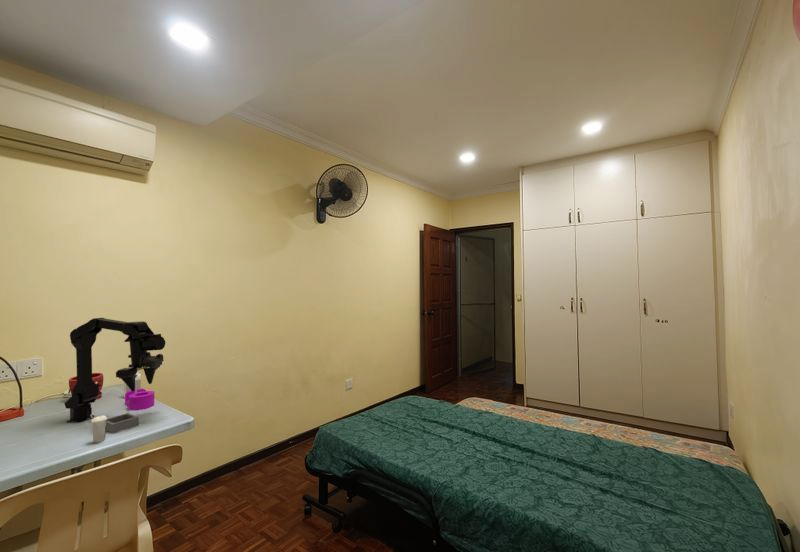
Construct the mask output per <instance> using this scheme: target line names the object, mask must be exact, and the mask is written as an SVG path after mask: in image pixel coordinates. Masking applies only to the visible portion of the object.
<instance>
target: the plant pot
mask: <svg viewBox="0 0 800 552" xmlns="http://www.w3.org/2000/svg"><path fill="white" fill-rule="evenodd" d="M92 380H93V381H94V382H95V384H96V383H98V384H99V392H98V396H97V397H96V400H98V398H101V396H102V395H103V391H101V390H102V389H103V385H104V373H102V372H92ZM76 383H77V375H76V376H73V377H70V378H69V379H68V389H69V392H70V394H71V395H72V390H73V388H74V386H75V385H76Z"/></svg>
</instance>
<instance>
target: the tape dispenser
mask: <svg viewBox="0 0 800 552" xmlns="http://www.w3.org/2000/svg"><path fill="white" fill-rule="evenodd" d="M124 405H125V406H126V407H127V408H128V411H131V412H132V411H133V412H134V411H135V412H136V411H143V410H147V409H150V408H152V407H154V406H155V391H154V390H146V389H145V388H141V389H137V393H135V391H128V392H127V393H126V394H125V398H124Z"/></svg>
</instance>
